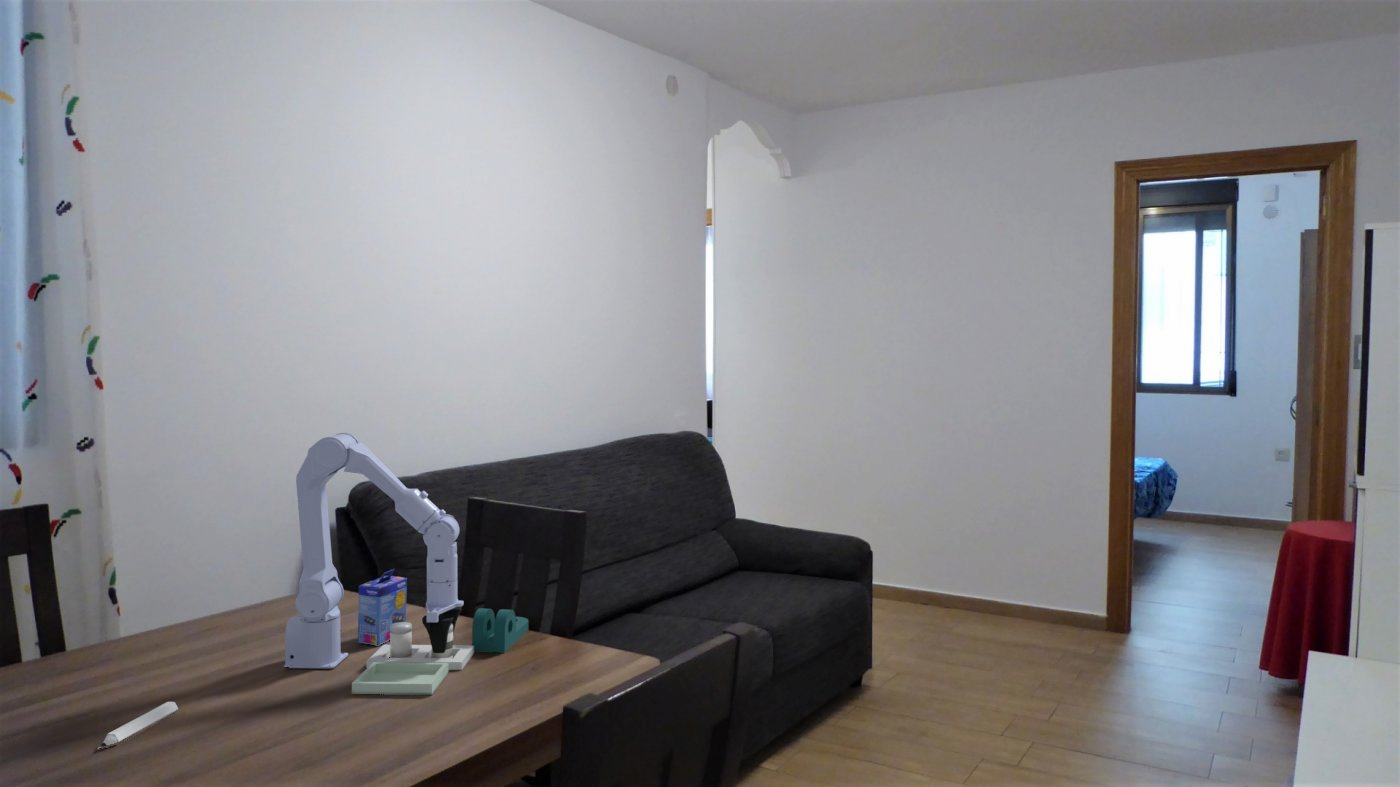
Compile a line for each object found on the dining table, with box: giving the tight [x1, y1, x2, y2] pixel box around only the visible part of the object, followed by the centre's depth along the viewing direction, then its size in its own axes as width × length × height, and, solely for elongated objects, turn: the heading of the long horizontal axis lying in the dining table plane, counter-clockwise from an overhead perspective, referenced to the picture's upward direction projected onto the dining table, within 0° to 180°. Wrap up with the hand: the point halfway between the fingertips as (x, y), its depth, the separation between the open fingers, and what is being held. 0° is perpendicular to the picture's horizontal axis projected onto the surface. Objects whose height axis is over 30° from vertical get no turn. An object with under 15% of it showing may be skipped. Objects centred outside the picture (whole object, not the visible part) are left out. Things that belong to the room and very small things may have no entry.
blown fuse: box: [431, 623, 454, 658], centre depth 183 cm, size 4×4×7 cm
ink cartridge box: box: [357, 568, 408, 647], centre depth 196 cm, size 10×6×14 cm, turn 163°
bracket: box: [471, 607, 529, 653], centre depth 198 cm, size 18×7×8 cm, turn 173°
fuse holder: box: [365, 644, 475, 671], centre depth 183 cm, size 18×10×2 cm, turn 90°
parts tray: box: [351, 662, 449, 696], centre depth 171 cm, size 14×11×2 cm
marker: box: [97, 701, 179, 750], centre depth 149 cm, size 3×2×16 cm
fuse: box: [389, 621, 413, 658], centre depth 183 cm, size 4×4×7 cm
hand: (442, 648), depth 183 cm, fingers closed on blown fuse, 4 cm apart
